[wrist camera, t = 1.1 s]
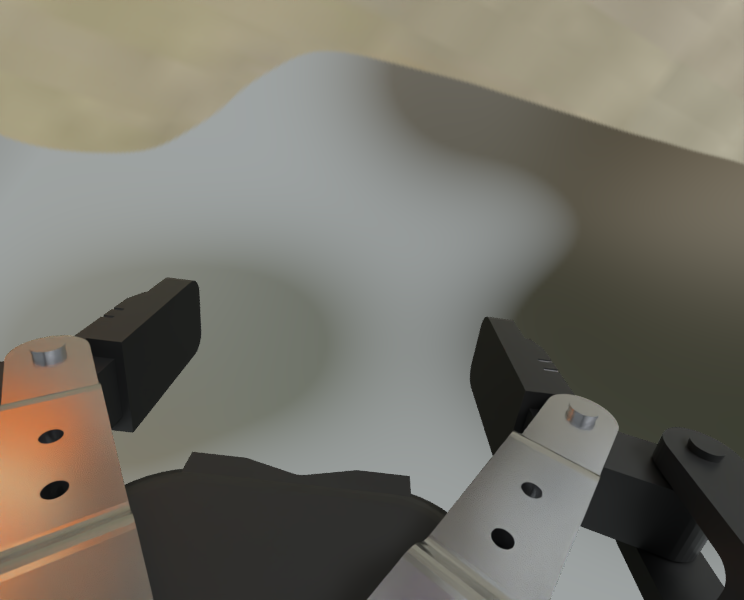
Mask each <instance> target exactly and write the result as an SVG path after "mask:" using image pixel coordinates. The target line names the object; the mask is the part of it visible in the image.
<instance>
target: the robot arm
mask: <svg viewBox="0 0 744 600" xmlns="http://www.w3.org/2000/svg"><path fill="white" fill-rule="evenodd" d="M200 339H201V319H200V296H199V287H198V284H197V282H196V281H191V280H183V279H176V278H165V279H164V280H162V281H161V282H160V283H158V284H157V285H156V286H154V287H153V288H152V289H150V290H149V291H148V292H144V293H141V294H138V295H135V296H133V297H130V298H127V299H125V300H124V301H123V302H121V303H120V304H118V305H117V306H116V307H114V310H113V309H112V310H110V311H109V312H107V313H106V314H104V317H100V318H99V319H97V320H96V321H95V322H93V323H92V324H90V325H89V326H88V327H86V328H85V329H84V330H82V331H81V332H80V333H78V334H76V335H75V336H68V335H67V336H64V335H60V336H49V337H44V338H39V339H35V340H32V341H29V342H26V343H24V344H21V345H19V346H17V347H15V348H14V349H12V350H11V351H10V352H9V353H8V354H7V355H6V357H5V360H4V361H3V362H0V600H550V599H551V597H552V594H553V592H554V589H555V587H556V584H557V582H558V579H559V577H560V575H561V572H562V569H563V567H564V565H565V562H566V560H567V557H568V555H569V552H570V550H571V548H572V545H573V543H574V540H575V538H576V535H577V533H578V530H579V528H580V526H582V527H584V528H587V529H589V530H592V531H595V532H597V533H600V534H602V535H605V536H608V537H610V538H613V539H615V540H616V542H617V544H618V547H619V549H620V551H621V553H622V555H623V557H624V559H625V561H626V563H627V565H628V567H629V570H630V572H631V574H632V576H633V578H634V580H635V582H636V584H637V586H638V588H639V590H640V592H641V595H642V597H643V599H644V600H744V460H743V459H742V458H741V457H739V455H737V454H736V453H735V452H734V451H733V450H731V449H730V448H729V447H727V446H726V445H724V444H723V443H721V442H719V441H718V440H716V439H714V438H712V437H710V436H708V435H705V434H703V433H700V432H697V431H694V430H691V429H686V428H680V427H672V428H668V429H666V430H665V431H664V432H663V434H662V436H661V438H660V440H659V442H658V444H656V443H652V442H649V441H646V440H643V439H639V438H636V437H633V436H630V435H626V434H624V433H621V432H618V429H619V427H618V423H617V421H616V420H615V418H614V417H613V416H612V415H611V414H610V413H609V412H608V411H607V410H606V409H604V408H603V407H601V406H600V405H598V404H596V403H595V402H592V401H590V400H588V399H586V398H583V397H580V396H575V395H574V393H573V391H572V390H571V389H570V387H569V386H568V384H567V383H566V381H565V380H564V378H563V377H562V375H561V374H560V372H557V368H556V366H555V365H554V363H552V362H551V359H550V358H549V356H548V355H547V353H546V352H545V350H544V349H543V348H541V347H540V346H539V345H537V344H536V343H535V342H533V341H532V340H531V339H525V338H524V336H523V335H522V333H521V332H520V330H519V329H518V327H517V325H516V324H515V322H514V321H513V320H509V319H500V318H492V317H485V318H484V320H483V322H482V325H481V328H480V333H479V337H478V340H477V344H476V348H475V352H474V356H473V361H472V364H471V370H470V384H471V389H472V392H473V395H474V398H475V401H476V404H477V408H478V411H479V414H480V417H481V420H482V423H483V426H484V430H485V433H486V436H487V439H488V442H489V445H490V448H491V452H492V455H493V457H492V458H491V459H490V460H489V462H488V463H487V464H486V465H485V467H484V468H483V469H482V470H481V471H480V473H479V474H478V475H477V476H476V478H475V479H474V480H473V481H472V483H471V484H470V485H469V486H468V488H467V489H466V490H465V491H464V493H463V494H462V495H461V496H460V498H459V499H458V500H457V502H456V503H455V504H454V505H453V507H452V508H451V509H450V510H449V512H448V513H447V512H446V511H445V510H443V509H442V508H440V507H438V506H437V505H435V504H433V503H431V502H429V501H427V500H425V499H423V498H421V497H418V496H415V495H413V494H411V489H410V476H402V475H394V474H385V473H377V472H368V471H359V470H354V471H344V472H333V473H322V474H311V475H296V474H292V473H289V472H286V471H284V470H281V469H278V468H275V467H272V466H269V465H266V464H263V463H260V462H256V461H254V460H251V459H248V458H243V457H233V456H225V455H216V454H205V453H197V452H192V454H191V456H190V457H189V459H188V461H187V463H186V464H185V466H184V468H183V469H177V470H171V471H166V472H161V473H157V474H153V475H150V476H146V477H143V478H141V479H138V480H135V481H133V482H130V483H128V484H126V485H124V481H123V477H122V473H121V468H120V464H119V459H118V455H117V451H116V447H115V442H114V438H113V434H112V430H115V431H125V432H134V431H135V430H136V428H137V427H138V426H139V425H140V423H141V422H142V421H143V420H144V418H145V417H146V416H147V414H148V413H149V412H150V411H151V409H152V408H153V407H154V406H155V404H156V403H157V402H158V401H159V399H160V398H161V397H162V395H163V394H164V393H165V392H166V390H167V389H168V388H169V386H170V385H171V384H172V383H173V382H174V380H175V379H176V378H177V376H178V375H179V374H180V373H181V371H182V370H183V369H184V367H185V366H186V365H187V364H188V363H189V361H190V360H191V359H192V357H193V356H194V355H195V354H196V352H197V350H198V347H199V344H200ZM707 540H709V541H710V543H711V544H712V546H713V547H714V548H715V550H716V551H717V553H718V554H719V556H720V558H721V559H722V562H723V565H724V568H725V574H726V583H725V587H724V586H723V585H722V583H721V582H720V580H719V579H718V577H717V576H716V574H715V573H714V571H713V570H712V568H711V567H710V565H709V564H708V562H707V561H706V559H705V558H704V556H703V555H702V553H701V552H700V551H701V550H702V548H703V546H704V545H705V543H706V541H707Z"/></svg>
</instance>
